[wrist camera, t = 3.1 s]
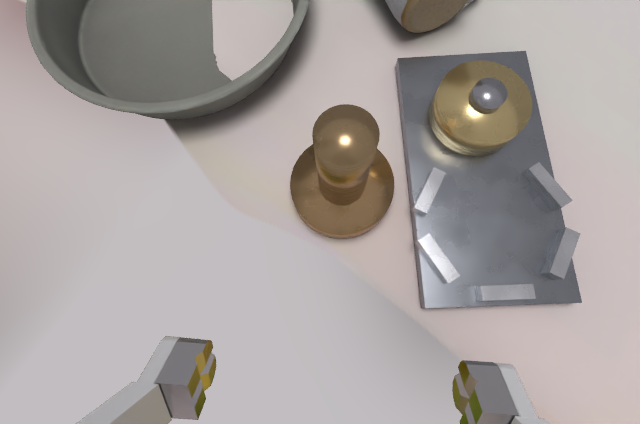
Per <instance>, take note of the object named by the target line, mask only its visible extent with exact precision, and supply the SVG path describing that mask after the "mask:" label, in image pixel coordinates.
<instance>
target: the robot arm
mask: <svg viewBox="0 0 640 424" xmlns="http://www.w3.org/2000/svg"><path fill="white" fill-rule="evenodd" d="M212 349H213V345H212V341H211V340H201V339H191V338H181V337H170V336H165V337H164V338H163V339H162V340H161V342H160V343H159V345H158V347H157V348H156V350H155V352H154V354H153V355H152V357H151V359H150V360H149V362H148V364H147V366H146V367H145V369H144V371H143V372H142V374H141V376H140V378H139V379H138V381H137V382H132V383H131V384H129V385H128V386H126V387H125V388H123V389H122V390H121V391H119V392H118V393H117V394H115V395H114V396H113V397H112V398H110V399H109V400H107V401H106V402H105V403H103V404H102V405H100V406H99V407H98V408H96V409H95V410H94V411H93V412H91V413H90V414H88V415H87V416H86V417H84V418H83V419H82V420H80V421H79V422H77V423H76V424H168V423H169V422H170V421H171V418H178V419H195V420H198V418H199V415H200V413H201V410H202V408H203V405H204V403H205V400H206V397H205V394H204V391H205V390H206V389H207V388H208V387H210V386H211V384H212V381H213V378H214V374H215V369H216V359H215V356H214V355H213V354H212V353H211V351H212ZM458 368H459V372H460V373H459V374H457V375H456V376H455V377H454V380H453V398H454V402H455V406H456V408H457V409H458V410H459V411H460V412H461V413H462V415H463V416H462V418H461V420H460V424H549V423H548V422H547V421H546V420H545V419H542V418H539V417H538V415H537V412H536V410H535V408H534V406H533V404H532V402H531V400H530V398H529V396H528V394H527V391H526V389H525V387H524V385H523V383H522V381H521V379H520V377H519V375H518V373H517V371H516V368H515V367H514V366H513V365H511V364H500V363H493V362H478V361H461V362H460V364H459V367H458Z"/></svg>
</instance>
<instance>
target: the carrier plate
mask: <svg viewBox="0 0 640 424" xmlns="http://www.w3.org/2000/svg"><path fill="white" fill-rule="evenodd" d="M395 69H396V78H397V88H398V97H399V106H400V116H401V125H402V134H403V144H404V153H405V162H406V172H407V181H408V190H409V200H410V209H411V218H412V228H413V237H414V246H415V256H416V265H417V274H418V284H419V293H420V302H421V308H446V307H474V306H502V305H529V304H557V303H582V301H581V296H580V292H579V287H578V283H577V278H576V274H575V270H574V265H573V261H572V255H573V253H574V250H575V247H576V244H577V241H578V239H579V236H580V233H578V232H575V231H573V230H571V229H569V228H567V227H566V228H565V225H564V220H563V216H562V211H561V208H562V207H563V206H565V205H566V204H568V203H569V202H571V201H572V199H571V198H570V197H569V196H568V195H567V194H566V192H565V191H564V190H563V189H562V188H561V187H560V186H559V184H558V183H557V182H556V181H555V180H554V175H553V171H552V166H551V162H550V157H549V153H548V149H547V144H546V140H545V135H544V131H543V126H542V122H541V117H540V113H539V108H538V104H537V99H536V95H535V90H534V86H533V81H532V77H531V72H530V68H529V63H528V59H527V54H526V51H517V52H500V53H482V54H465V55H447V56H430V57H412V58H398V59H397V63H396V67H395Z"/></svg>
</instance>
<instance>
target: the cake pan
mask: <svg viewBox="0 0 640 424" xmlns="http://www.w3.org/2000/svg"><path fill="white" fill-rule="evenodd" d="M291 1H292V3H293V12H294V17H293V19H292V21H291V23H290V25H289V27H288V29H287V31H286V32H285V34H284V35H283V37H282V38H281V40H280V41H279V42H278V43H277V45H276V46H275V47H274V48H273V49H272V50H271V52H270V53H269V54H268V55H267V56H266V57H265V58H264V59H263V60H262V61H260V62H259V63H258V64H257V65H256V66H254V67H253V68H252V69H251V70H249V71H248V72H246V73H245V74H243V75H242V76H240V77H239V78H237V79H235V80H233V81H231V80H230V79H229V78H228V77H227V76H226V75H224V74H223V73H222V72H221V71H219V69H218V67H217V62H216V56H215V54H214V52H213V25H212V0H27V4H26V22H27V29H28V34H29V38H30V41H31V44H32V47H33V49H34V51H35V53H36V55H37V57H38V59H39V61H40V63H41V64H42V65H43V67H44V68H45V69H46V70H47V71H48V73H49V74H50V75H51V76H52V77H53V78H54V79H55V80H56V81H57V82H58V83H59V84H60V85H62V86H63V87H64V88H65V89H67V90H68V91H70V92H71V93H73V94H75V95H77V96H78V97H80V98H82V99H84V100H86V101H88V102H91V103H93V104H96V105H99V106H102V107H105V108H109V109H113V110H118V111H123V112H130V113H136V114H140V115H143V116H147V117H152V118H159V119H187V118H194V117H200V116H204V115H208V114H212V113H215V112H218V111H221V110H223V109H226V108H228V107H230V106H232V105H234V104H236V103H238V102H240V101H241V100H243V99H245V98H246V97H248V96H249V95H251V94H252V93H253V92H255V91H256V90H257V89H259V88H260V87H261V86H262V85H263V84H264V83H265V82H266V81H267V80H268V79H269V78H270V77H271V76H272V75H273V74H274V72H275V71H276V70H277V68H278V67H279V66H280V64H281V63H282V61H283V59H284V58H285V56H286V54H287V52H288V50H289V47H290V45H291V42H292V40H293V39H294V37H295V35H296V34H297V32H298V30H299V28H300V26H301V24H302V22H303V19H304V17H305V14H306V12H307V8H308V4H309V0H291Z"/></svg>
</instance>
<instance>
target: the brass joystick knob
mask: <svg viewBox="0 0 640 424" xmlns="http://www.w3.org/2000/svg"><path fill="white" fill-rule="evenodd" d="M378 142H379V128H378V125H377V123H376V121H375V119H374V118H373V116H372V115H371V114H370V113H369V112H367V111H366V110H364V109H362V108H361V107H358V106H354V105H338V106H334V107H331V108H329V109H328V110H326V111H325V112H323V113H322V114H321V115H320V116H319V118H318V119H317V121H316V122H315V125H314V128H313V145H311V146H310V147H309V148H308V149H306V150H305V151H304V152H303V153H302V155H301V156H300V157H299V159H298V160H297V162H296V164H295V166H294V168H293V171H292V175H291V182H290V188H291V195H292V199H293V202H294V204H295V207H296V209H297V211H298V213H299V215H300V217H301V218H302V219H303V221H304V222H305V223H306V224H307V225H308V226H309V227H310V228H312V229H313V230H314V231H316V232H318V233H319V234H322V235H324V236H327V237H331V238H337V239H346V238H353V237H357V236H359V235H362V234H364V233H366V232H368V231H369V230H371V229H372V228H373V227H375V226H376V225H377V224H378V223H379V221H380V220H381V219H382V217H383V216H384V214H385V213H386V211H387V209H388V208H389V206H390V203H391V201H392V198H393V194H394V177H393V173H392V170H391V167H390V165H389V163H388V161H387V160H386V158H385V157H384V155H383V154H382V153H381V152H380V151H379V150H378V149H377V145H378Z"/></svg>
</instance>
